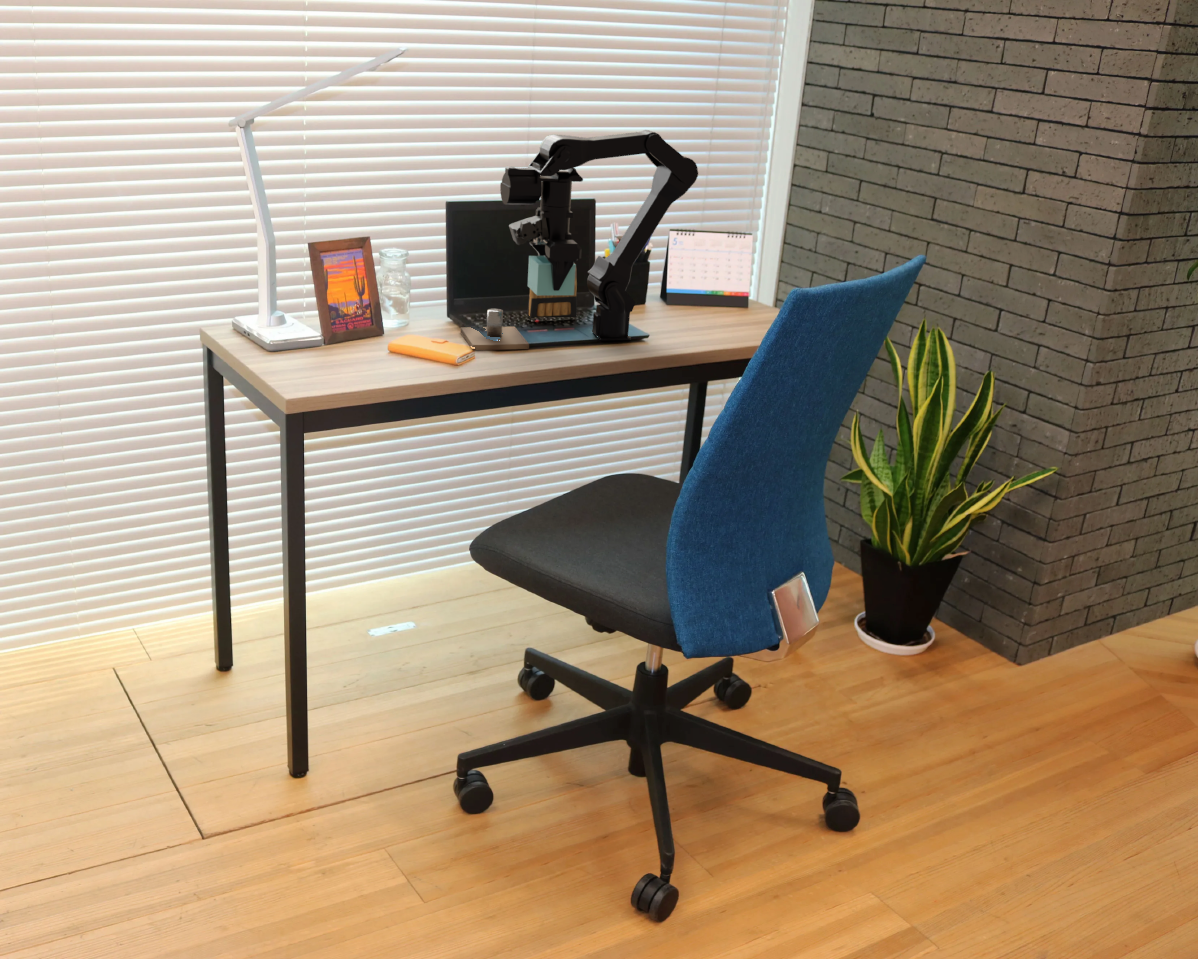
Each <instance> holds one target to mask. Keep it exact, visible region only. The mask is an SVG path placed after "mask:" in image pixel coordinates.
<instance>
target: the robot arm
mask: <svg viewBox="0 0 1198 959" xmlns="http://www.w3.org/2000/svg"><path fill="white" fill-rule="evenodd" d="M636 155H645V156H646V157H647V159H648V160H649V161H650V162H651V163H652V164H653V165H654V166H655V167H656V169H655V170H654V171H655V172H654V174H653V176H652V177H653V178H652V183H651V188H650V192H649V193H648V195H647V197H646V199H645V200H644V201H643V204H642V205H641V207H640V208H639V210H638V211H637V213H636V214H635V217H634V218H633V219H632V221H631V222H630V224H629V226H628V227H627V229H626V230H625V232H624V234H623V236H622V237H621V238H620V241H618V243H617V245H616V247H615V248H614V250H613V251H612V252H611V253H610V254H609V255H607V256H606V257H603V256H601V255H598V256H597V257H596V259H595V261H594V263H593V265H592V267H591V268H590V269H589V270H588V271H587V274H589V275H588V276H587V279H586V285H587V286H586V287H587V289H588V291H589V293H591V294H592V295H593V298H594V301H595V303H598V304H596V308H595V312H593V315H592V316H593V317H592V327H591V328H592V329H591V333H592V332H593V333H594V334H595V335H596V336H598V337H599V338H600V339H599V338H598V339H599V341H602V342H603V341H605V342H606V341H631V339H632V337H631V336H630V335H629V330H630V327H629V326H630V318H631V317H630V316H631V312H633V310H634V308H635V305H636V301H635V300H634V299H633V297H632V296H630V294H629V293H628V292H627V288H628V287H629V284H630V282H631V275H632V270H633V266H634V264H635V263H636V260H637V259H638V258H639V256H640V255H641V253H642V251H643V250H644V248H645V246H646V245H647V244H648V241H649V240H650V238H651V237H652V235H653V233H655V231H656V229H657V227H658V225H659V224H660V222H661V221H662V220H663V218H664V216H665V215H666V213H667V212H668V210H669V208H670V207H671V205H672V204H673V203H674V202H676V201H678V199H680V198H681V197H682V196H684V195H685V194H686V193H687V192H688V191H689V190H690V188H691V187H692V186H693V185H694V184H695V183H696V181H697V179H698V177H699V170H698V169H699V168H698V165H697V163H696V162H695V161H694V160H693V159H692V158H691V157H687V156H684V155H682V154H681V153H680V152H679V151H678V150H676V149H675V148H674V147H673V146H671V145H670V144H669V143H668V142H666V140H665V139H663V138H662V136H661V135H660V134H659V133H658V132H655V131H652V130H648V129H644V130H641V131H638V132H637V131H635V132H627V133H617V134H610V135H609V134H608V135H601V136H592V137H582V136H581V137H579V136H574V135H566V134H550V135H547V136H545V137H544V139H543V140H542V142H541V144H540V147H539V151H538V152H537V154H536V155H535V156H534V157H533V159H532V161H531V162H529V164H528V166H527V167H515V166H505V168H504V173H503V176H502V178H501V182H500V198H501V201H502V204H503V205H530V206H531V205H535V204H536V202H539V201H540V205H539V206H540V207H539V206H538V207H537V209H535V215H533V216H530V217H527V218H524V219H520V220H518V221H515V222H512V223H509V225H508V227H509V231H510V234H511V237H512V240H513V242H515V244H516V245H518V246H520V245H524V244H526V243H527V242H529V245H530V246H532V248H533V249H534V250H535V251H536V253H537V256H544V257H545V258H546V259H547V260H548V261H549V262H550V264H551V273H552V283H553V290H554V291H559V290H560V288H561V286H562V284H563V282H564V280H565V278H566V277H567V275H568V273H569V271H570V269H571V268H572V266H573V264H574V263H575V264H576V262H577V261H578V260H580V259H582V255H583V253H582V250H583V248H582V247H581V246H580V245H579V243H577V242H576V241H575V240H574V239H572V237H573V236H572V233H571V232H570V221H571V220H570V219H573V218H574V212H573V211H571V203H572V200H571V199H572V187H573V185H572V184H573V182H574V183H575V182H581V183H582V182H583V181H584V178H583V177H582V176H581V175H580V174H579V173H578V171H577V169H576V168H578V167H580V166H582V165H584V164H586V163H589V162H592V161H594V160H601V159H611V158H619V157H626V156H627V157H628V156H636ZM593 333H592V334H593ZM594 334H593V335H594ZM595 335H594V336H595ZM628 335H629V336H628ZM596 336H595V337H596Z"/></svg>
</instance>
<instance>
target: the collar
mask: <svg viewBox="0 0 1198 959" xmlns="http://www.w3.org/2000/svg"><path fill="white" fill-rule="evenodd" d="M575 270H576V271H577V264H576V263H575V264H573V266H572V268H571V269H570V271H569V273H568V275H567V277H566V278H565V280H564V282H563V284H562V286H561V288H560V290H559V291H554V290H553V283H552V273H551V264H550V262H549V261H548V260H547V259H546V258H545V257H544V256H538V255H528V269H527V272H528V273H527V287H528V288H529V290H530V289H531V290H532V291H533V292H534V293H535V294H536V295H537V296H538V295H574V285H575Z"/></svg>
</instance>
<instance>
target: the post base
mask: <svg viewBox="0 0 1198 959" xmlns="http://www.w3.org/2000/svg"><path fill="white" fill-rule="evenodd" d="M503 315H504V310H503V309H500V308H488V309H487V311H486V326H482V327H483V328H485V329H486V330H485V331H487V336H490V337H500V338H501V339H498V341H493V340H490V339H486V337H484V336H483V335H482V334H481V333H480V332H479V331H477V330H475V329H473V328H471V327H472V326H471V327H470V326H469V327H467V326H466V327H464V326H463V327H460V334H461V335H462V336H463V339H465V341H466V342H467V344H468V345H469V347H470V346H472V347H475V349H476V350H475V351H490V350H492V351H493V350H496V351H497V350H529V349H530V343H529V342H528V341H527V339H526V338H525V337H524V336H523V334H522V333H521V332H520V331H519V330H518V329H517V327H515V326H503V321H504V320H503V317H504V316H503ZM502 333H503V334H502ZM499 340H500V341H499Z"/></svg>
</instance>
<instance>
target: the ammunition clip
mask: <svg viewBox="0 0 1198 959" xmlns="http://www.w3.org/2000/svg"><path fill="white" fill-rule="evenodd" d="M574 264H576V262H575V263H574ZM577 286H578V282H577V269H576V270H575V285H574V295H538V296H537V295H536V294H535V293H534V292H533V291H532V290H531V289H530V288H529V296H528V304H527V311H526V312H527V315H526V317H527V316H528V315H529V316H530V318H534V317H577V316H578V315H577V314H578V312H577V310H578V308H577V305H578V296H577Z"/></svg>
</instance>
